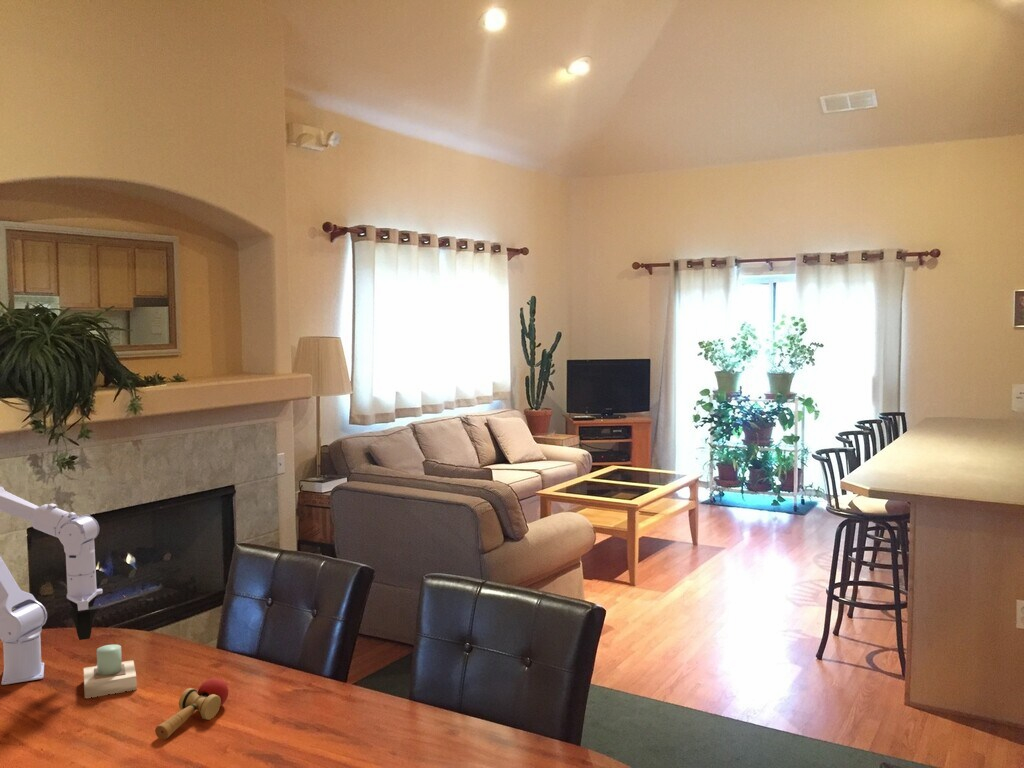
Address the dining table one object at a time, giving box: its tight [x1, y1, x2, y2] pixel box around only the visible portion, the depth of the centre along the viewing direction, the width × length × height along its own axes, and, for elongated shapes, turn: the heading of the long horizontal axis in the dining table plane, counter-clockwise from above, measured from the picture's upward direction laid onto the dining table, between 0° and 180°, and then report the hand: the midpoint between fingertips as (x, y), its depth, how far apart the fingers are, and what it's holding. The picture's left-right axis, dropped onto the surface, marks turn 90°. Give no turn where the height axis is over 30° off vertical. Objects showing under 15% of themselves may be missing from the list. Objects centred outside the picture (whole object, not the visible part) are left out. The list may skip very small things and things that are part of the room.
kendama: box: [154, 677, 229, 741], centre depth 174 cm, size 8×6×18 cm
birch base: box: [83, 659, 138, 699], centre depth 190 cm, size 10×10×3 cm
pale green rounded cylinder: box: [96, 644, 123, 676], centre depth 189 cm, size 5×5×5 cm
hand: (84, 633), depth 192 cm, fingers open, 7 cm apart
